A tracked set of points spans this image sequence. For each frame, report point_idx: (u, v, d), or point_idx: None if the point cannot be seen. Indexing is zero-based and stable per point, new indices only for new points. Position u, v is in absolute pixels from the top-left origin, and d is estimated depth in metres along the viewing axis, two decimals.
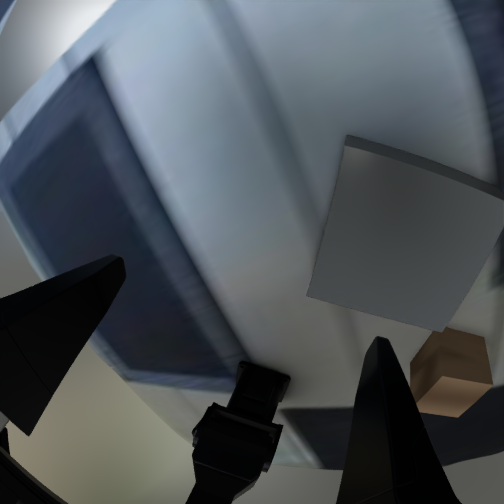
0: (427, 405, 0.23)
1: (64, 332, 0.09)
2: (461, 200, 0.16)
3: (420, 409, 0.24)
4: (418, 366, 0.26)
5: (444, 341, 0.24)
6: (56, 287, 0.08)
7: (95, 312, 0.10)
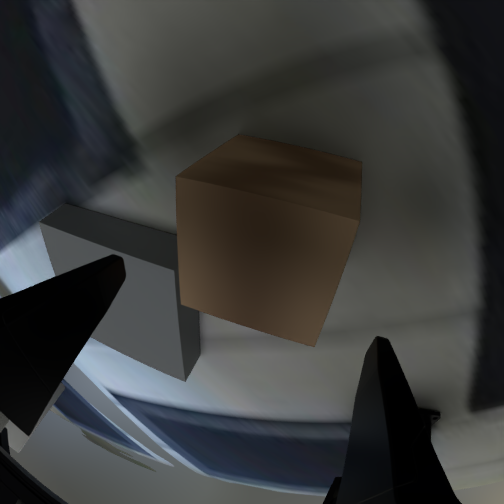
0: (289, 318, 0.12)
1: (64, 332, 0.09)
2: (59, 267, 0.21)
3: (310, 328, 0.12)
4: None
5: None
6: (56, 287, 0.08)
7: (95, 312, 0.10)
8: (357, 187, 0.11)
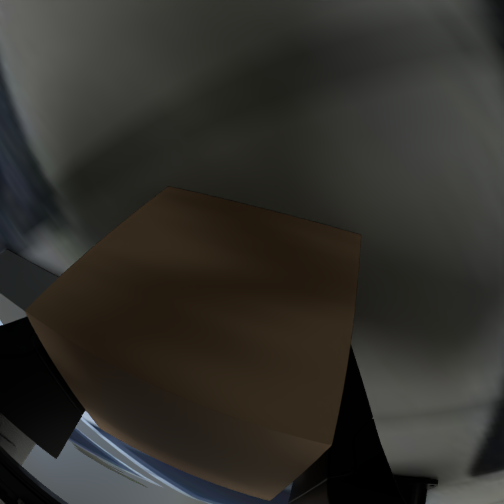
0: (230, 481, 0.07)
1: None
2: (5, 322, 0.16)
3: (260, 492, 0.07)
4: None
5: None
6: None
7: None
8: (346, 320, 0.06)
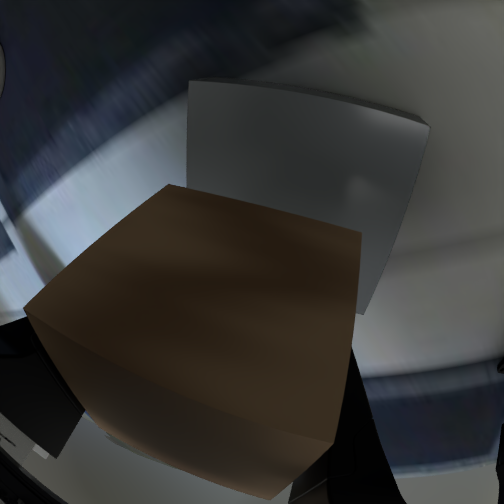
0: (230, 480, 0.07)
1: None
2: (204, 152, 0.16)
3: (260, 491, 0.07)
4: None
5: None
6: None
7: None
8: (347, 317, 0.06)
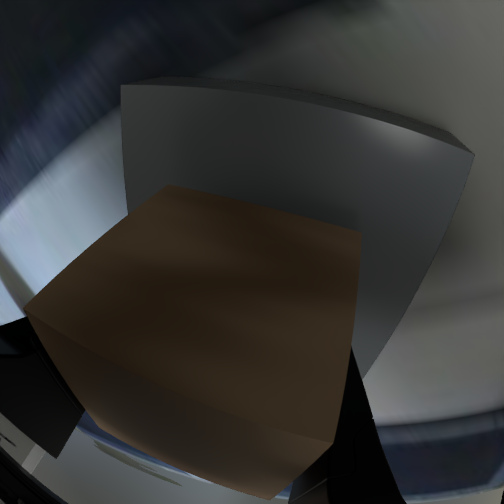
0: (230, 480, 0.07)
1: None
2: (145, 184, 0.12)
3: (260, 491, 0.07)
4: None
5: None
6: None
7: None
8: (347, 317, 0.06)
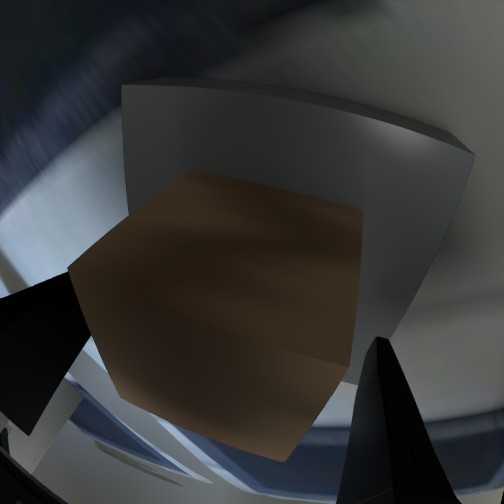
0: (248, 439, 0.08)
1: (64, 332, 0.09)
2: (146, 184, 0.12)
3: (276, 450, 0.08)
4: None
5: None
6: (56, 287, 0.08)
7: None
8: (353, 273, 0.07)
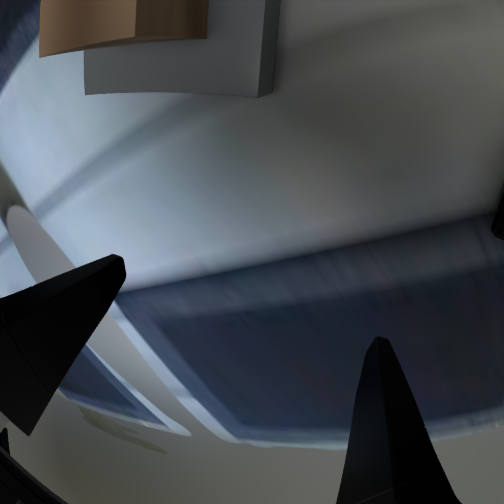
0: (109, 11, 0.08)
1: (64, 332, 0.09)
2: None
3: (126, 13, 0.08)
4: None
5: None
6: (56, 287, 0.08)
7: (95, 312, 0.10)
8: None
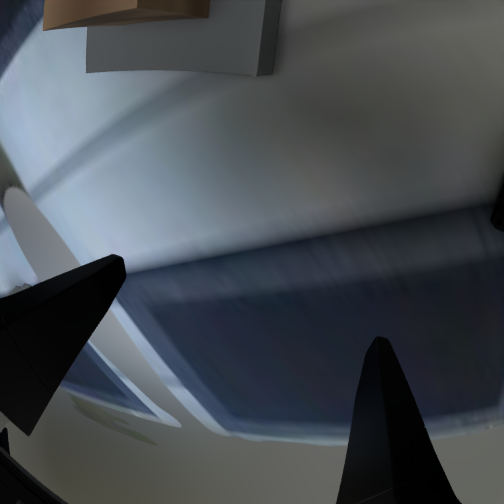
0: None
1: (64, 332, 0.09)
2: None
3: None
4: (158, 17, 0.12)
5: None
6: (56, 287, 0.08)
7: (95, 312, 0.10)
8: None
